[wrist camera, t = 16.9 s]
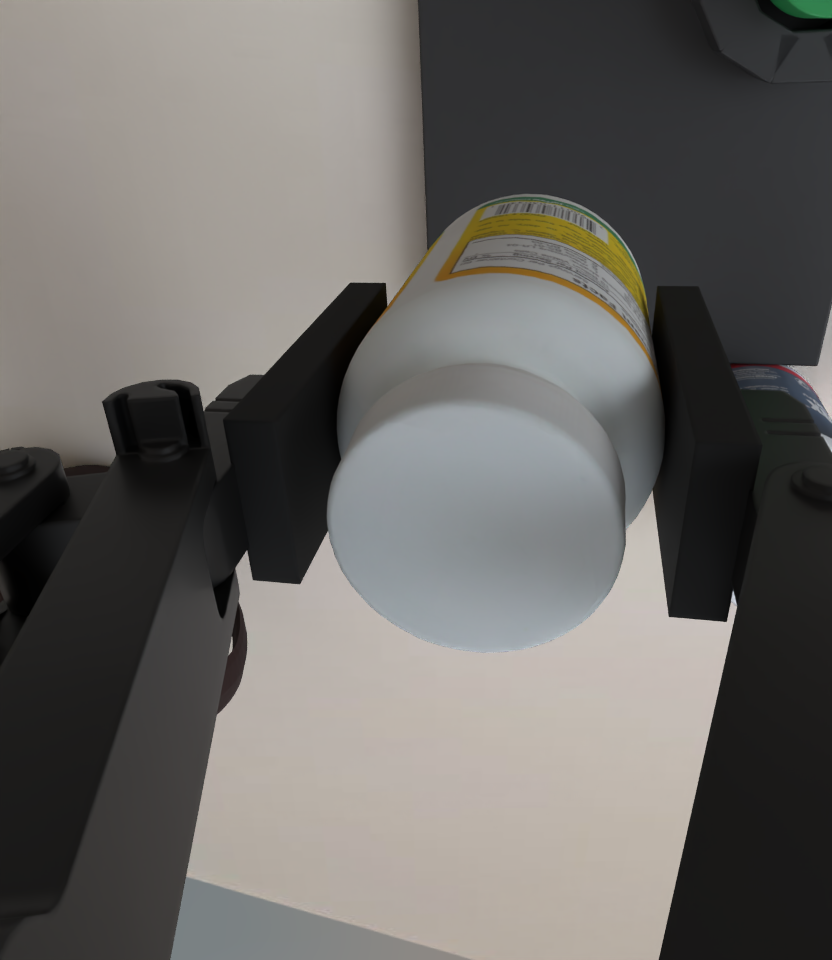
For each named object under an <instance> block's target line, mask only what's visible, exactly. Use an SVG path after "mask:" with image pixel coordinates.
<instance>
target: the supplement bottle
mask: <svg viewBox="0 0 832 960" xmlns="http://www.w3.org/2000/svg"><path fill="white" fill-rule="evenodd" d="M337 438H338V446H339V451H340V456H341V461H340V463H339V465H338V467H337V469H336V471H335V473H334V476H333V479H332V482H331V485H330V490H329V496H328V502H327V527H328V532H329V537H330V542H331V545H332V548H333V551H334V554H335V557H336V559H337V561H338V563H339V566H340V568H341V570H342V572H343V573H344V575H345V576H346V578H347V579H348V581H349V582H350V584H351V585H352V587H353V588H354V589H355V590H356V591H357V592H358V593H359V595H360V596H361V597H362V598H363V599H364V600H365V601H366V602H367V603H368V604H369V605H370V606H371V607H372V608H373V609H374V610H376V611H377V612H378V613H379V614H380V615H381V616H383V617H384V618H386V619H387V620H389V621H390V622H391V623H393V624H394V625H396V626H397V627H399V628H401V629H403V630H404V631H406V632H408V633H410V634H412V635H414V636H416V637H418V638H420V639H422V640H425V641H427V642H431V643H434V644H437V645H441V646H444V647H448V648H453V649H457V650H464V651H472V652H482V653H488V652H508V651H517V650H522V649H527V648H531V647H534V646H538V645H541V644H543V643H546V642H549V641H552V640H554V639H555V638H557V637H560V636H562V635H564V634H566V633H567V632H569V631H571V630H572V629H574V628H575V627H577V626H578V625H580V624H581V623H582V622H583V621H585V620H586V619H587V618H588V617H589V616H590V615H591V614H592V613H593V612H594V611H595V610H596V609H597V608H598V607H599V605H600V604H601V603H602V602H603V600H604V599H605V598H606V596H607V595H608V593H609V592H610V590H611V588H612V586H613V584H614V582H615V580H616V578H617V576H618V573H619V570H620V567H621V564H622V560H623V555H624V550H625V545H626V529H627V528H628V527H629V525H630V524H631V523H632V522H633V521H634V519H635V518H636V517H637V515H638V514H639V512H640V511H641V509H642V508H643V506H644V504H645V503H646V501H647V499H648V497H649V495H650V494H651V491H652V489H653V487H654V485H655V482H656V479H657V477H658V474H659V471H660V467H661V463H662V459H663V453H664V445H665V412H664V404H663V397H662V391H661V385H660V380H659V372H658V368H657V362H656V356H655V350H654V344H653V340H652V336H651V329H650V322H649V316H648V309H647V301H646V294H645V289H644V285H643V281H642V278H641V275H640V271H639V269H638V266H637V263H636V261H635V259H634V257H633V255H632V253H631V251H630V250H629V248H628V246H627V245H626V244H625V242H624V241H623V240H622V238H621V237H620V236H619V235H618V233H617V232H616V231H615V230H614V229H613V228H612V227H611V226H610V225H609V224H608V223H607V222H605V221H604V220H603V219H602V218H600V217H599V216H598V215H596V214H595V213H593V212H592V211H590V210H588V209H587V208H585V207H583V206H581V205H579V204H576V203H574V202H571V201H568V200H565V199H562V198H558V197H554V196H549V195H541V194H519V195H511V196H506V197H501V198H498V199H494V200H491V201H488V202H485V203H483V204H481V205H479V206H477V207H475V208H473V209H471V210H470V211H468V212H466V213H465V214H463V215H462V216H460V217H459V218H458V219H456V220H455V221H454V222H453V223H452V224H451V225H449V226H448V227H447V228H446V229H445V230H444V232H443V233H442V234H441V235H440V236H439V237H438V238H437V240H436V241H435V242H434V243H433V244H432V246H431V247H430V248H429V250H428V251H427V253H426V254H425V256H424V257H423V258H422V260H421V261H420V262H419V264H418V265H417V267H416V268H415V270H414V271H413V272H412V274H411V275H410V276H409V278H408V279H407V281H406V282H405V283H404V285H403V286H402V288H401V289H400V290H399V292H398V293H397V294H396V296H395V297H394V298H393V300H392V301H391V303H390V304H389V305H388V307H387V308H386V309H385V311H384V312H383V313H382V315H381V316H380V317H379V318H378V320H377V321H376V322H375V324H374V325H373V326H372V328H371V329H370V330H369V332H368V333H367V335H366V336H365V338H364V339H363V341H362V342H361V344H360V345H359V347H358V348H357V350H356V352H355V354H354V356H353V358H352V360H351V362H350V364H349V367H348V369H347V372H346V374H345V376H344V380H343V383H342V387H341V391H340V396H339V401H338V408H337Z"/></svg>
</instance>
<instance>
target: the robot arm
mask: <svg viewBox="0 0 832 960" xmlns="http://www.w3.org/2000/svg"><path fill="white" fill-rule="evenodd" d="M386 308H387V294H386V283H350V284H349V285H348V286H347V287H346V288H345V289H344V290H343V291H342V292H341V293H340V294H339V295H338V296H337V298H336V299H335V300H334V301H333V302H332V303H331V304H330V305H329V306H328V307H327V308H326V309H325V310H324V312H323V313H322V314H321V315H320V316H319V317H318V318H317V319H316V320H315V321H314V322H313V323H312V324H311V325H310V327H309V328H308V329H307V330H306V331H305V332H304V333H303V334H302V335H301V336H300V337H299V338H298V339H297V341H296V342H295V343H294V344H293V345H292V346H291V347H290V348H289V349H288V350H287V351H286V352H285V353H284V354H283V356H282V357H281V358H280V359H279V360H278V361H277V362H276V363H275V364H274V365H273V366H272V367H271V368H270V370H269V371H268V372H267V373H266V374H265V375H249V376H247V377H244V378H242V379H240V380H238V381H236V382H234V383H232V384H230V385H228V386H227V387H226V388H225V389H224V390H223V391H222V392H221V393H220V394H219V395H218V396H217V397H216V398H215V399H216V400H215V401H212V402H211V403H210V404H209V405H208V406H207V407H206V408H205V411H203V406H202V401H201V396H200V391H199V388H198V387H197V386H196V385H194V384H193V383H191V382H186V381H181V380H155V381H148V382H142V383H138V384H135V385H131V386H128V387H125V388H122V389H120V390H118V391H116V392H114V393H112V394H110V395H109V396H108V397H107V398H106V399H105V400H104V401H102V403H103V407H104V411H105V414H106V418H107V422H108V425H109V429H110V433H111V436H112V440H113V444H114V447H115V451H116V457H115V459H114V461H113V462H112V464H111V466H110V468H109V470H108V472H103V473H94V474H85V475H76V476H67V477H66V475H65V472H64V468H63V465H62V462H61V459H60V456H59V454H57V453H56V452H54V451H53V450H51V449H45V448H39V447H33V448H24V447H15V448H11V450H9V449H5V450H1V451H0V591H1V594H2V596H3V599H4V600H3V601H2V602H1V603H0V960H170V958H171V952H172V947H173V941H174V936H175V931H176V926H177V920H178V915H179V910H180V905H181V899H182V895H183V889H184V884H185V879H186V874H187V868H188V863H189V858H190V853H191V847H192V842H193V837H194V832H195V826H196V821H197V816H198V811H199V805H200V800H201V795H202V790H203V784H204V779H205V774H206V769H207V763H208V758H209V753H210V748H211V742H212V737H213V732H214V727H215V721H216V716H217V711H218V706H219V700H220V695H221V690H222V685H223V679H224V674H225V669H226V664H227V658H228V653H229V648H230V643H231V637H232V632H233V627H234V622H235V616H236V611H237V606H238V601H239V595H240V592H239V584H238V579H237V574H236V569H235V567H236V566H237V564H238V563H239V561H240V560H241V558H242V557H243V555H244V554H245V552H246V551H248V556H249V562H250V567H251V572H252V577H253V580H257V581H268V582H280V583H291V584H300V583H301V581H302V579H303V577H304V576H305V574H306V572H307V570H308V568H309V566H310V564H311V562H312V560H313V558H314V556H315V554H316V552H317V551H318V549H319V547H320V545H321V543H322V541H323V539H324V537H325V535H326V533H327V531H328V527H327V502H328V496H329V490H330V485H331V482H332V479H333V476H334V473H335V471H336V469H337V467H338V465H339V463H340V461H341V456H340V451H339V446H338V438H337V408H338V401H339V396H340V391H341V387H342V383H343V380H344V376H345V374H346V372H347V369H348V367H349V364H350V362H351V360H352V358H353V356H354V354H355V352H356V350H357V348H358V347H359V345H360V344H361V342H362V341H363V339H364V338H365V336H366V335H367V333H368V332H369V330H370V329H371V328H372V326H373V325H374V324H375V322H376V321H377V320H378V318H379V317H380V316H381V315H382V313H383V312H384V311H385V309H386ZM652 340H653V344H654V350H655V356H656V362H657V368H658V372H659V380H660V385H661V391H662V397H663V404H664V412H665V445H664V453H663V459H662V463H661V467H660V471H659V474H658V477H657V479H656V482H655V485H654V487H653V497H654V505H655V512H656V520H657V528H658V536H659V544H660V551H661V559H662V567H663V575H664V582H665V590H666V598H667V606H668V614H669V617H677V618H689V619H700V620H711V621H723V622H727V618H728V613H729V608H730V603H731V598H732V593H733V591H734V595H735V599H736V603H737V610H736V615H735V619H734V624H733V628H732V633H731V637H730V642H729V646H728V651H727V655H726V660H725V664H724V669H723V673H722V678H721V682H720V687H719V691H718V696H717V700H716V705H715V709H714V714H713V718H712V723H711V727H710V732H709V736H708V741H707V745H706V750H705V754H704V759H703V763H702V768H701V772H700V777H699V781H698V786H697V790H696V795H695V799H694V804H693V808H692V813H691V817H690V822H689V826H688V831H687V835H686V840H685V844H684V849H683V853H682V858H681V862H680V867H679V871H678V876H677V880H676V885H675V889H674V894H673V898H672V903H671V907H670V912H669V916H668V921H667V925H666V930H665V934H664V939H663V943H662V948H661V952H660V957H659V960H832V452H831V450H830V448H829V446H828V445H827V443H826V441H825V439H824V437H823V436H821V432H820V430H819V429H818V427H817V425H816V423H814V420H813V418H812V416H811V414H810V412H809V411H808V409H807V407H806V405H805V404H803V403H802V402H800V401H799V400H797V399H796V398H794V397H793V396H791V395H790V394H788V393H787V392H785V391H780V390H751V389H740V388H739V385H738V383H737V380H736V378H735V375H734V373H733V370H732V368H731V365H730V363H729V360H728V358H727V356H726V353H725V351H724V348H723V346H722V343H721V341H720V338H719V336H718V333H717V331H716V328H715V326H714V323H713V321H712V318H711V316H710V313H709V311H708V308H707V306H706V303H705V301H704V299H703V296H702V294H701V291H700V289H699V286H657V293H656V302H655V311H654V320H653V329H652Z"/></svg>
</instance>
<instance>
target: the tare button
mask: <svg viewBox="0 0 832 960" xmlns="http://www.w3.org/2000/svg"><path fill="white" fill-rule="evenodd" d="M770 1H771V2H772V3H773V4H774V5H775V6H776V7H777V8H778V9H780V10H781V11H783V12H785V13H786V14H788V15H791V16H794V17H799V18H832V0H770Z"/></svg>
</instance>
